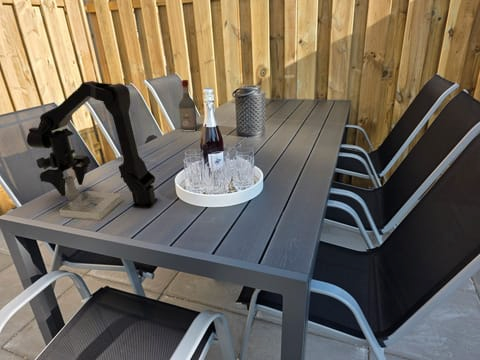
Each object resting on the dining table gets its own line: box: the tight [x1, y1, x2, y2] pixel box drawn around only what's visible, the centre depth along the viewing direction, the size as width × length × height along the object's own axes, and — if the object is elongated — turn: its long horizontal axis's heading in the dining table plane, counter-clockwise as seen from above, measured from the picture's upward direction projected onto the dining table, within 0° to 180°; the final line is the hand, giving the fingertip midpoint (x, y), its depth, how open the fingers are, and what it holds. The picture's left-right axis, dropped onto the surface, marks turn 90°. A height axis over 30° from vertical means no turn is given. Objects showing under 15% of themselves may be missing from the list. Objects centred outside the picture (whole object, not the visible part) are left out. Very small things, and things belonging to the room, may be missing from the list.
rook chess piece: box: [64, 175, 81, 201], centre depth 114 cm, size 4×4×8 cm
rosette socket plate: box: [59, 190, 124, 221], centre depth 107 cm, size 14×14×2 cm
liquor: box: [178, 79, 198, 130], centre depth 194 cm, size 9×9×30 cm
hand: (72, 190), depth 114 cm, fingers open, 9 cm apart
